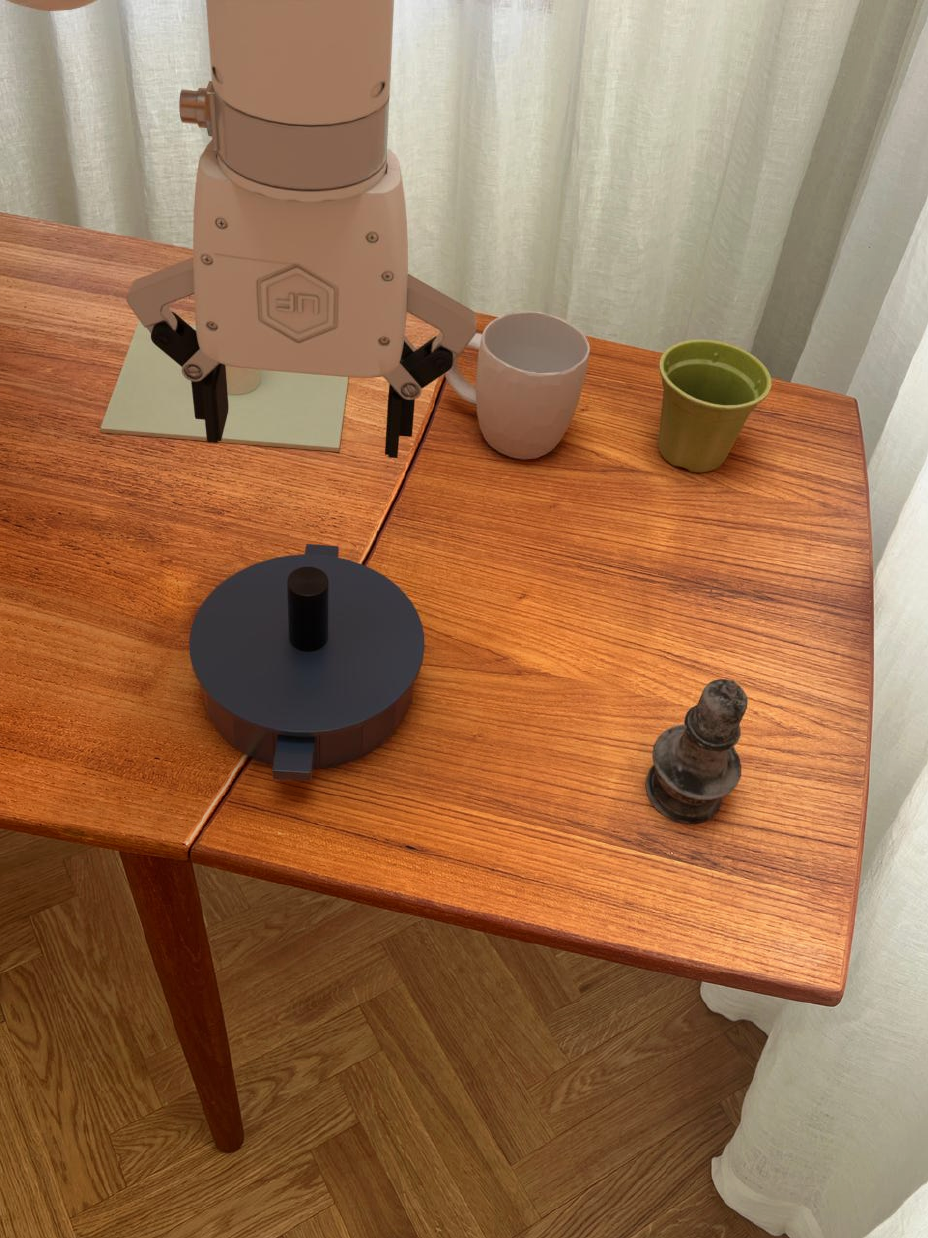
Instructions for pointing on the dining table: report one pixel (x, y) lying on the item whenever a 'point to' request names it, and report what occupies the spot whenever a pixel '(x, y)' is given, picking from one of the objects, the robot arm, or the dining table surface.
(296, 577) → the pot lid
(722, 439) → the plant pot
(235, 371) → the beige tall cylinder
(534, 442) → the mug
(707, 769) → the dark grey chess piece
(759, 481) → the dining table surface
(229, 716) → the pot
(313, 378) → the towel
